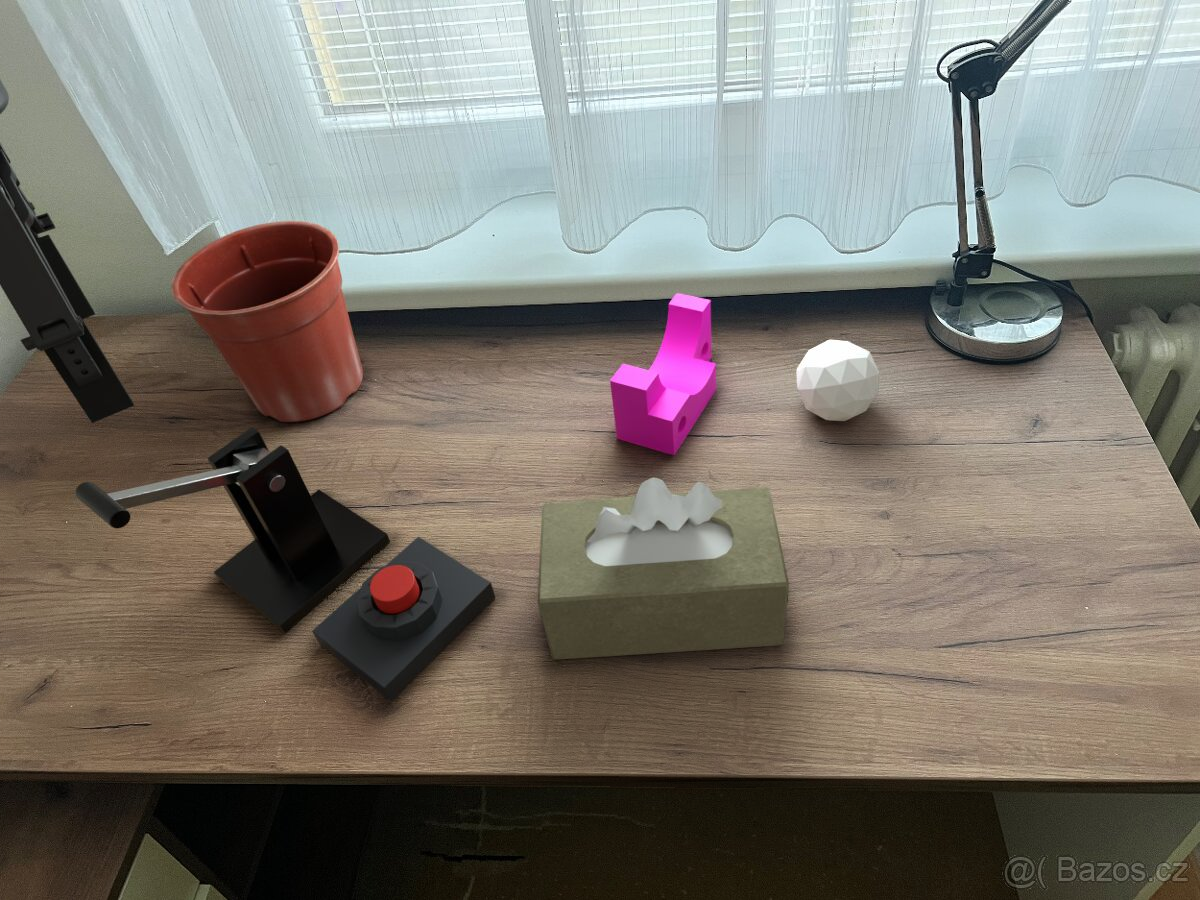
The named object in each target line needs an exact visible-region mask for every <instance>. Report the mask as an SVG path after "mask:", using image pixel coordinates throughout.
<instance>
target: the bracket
mask: <svg viewBox="0 0 1200 900" xmlns="http://www.w3.org/2000/svg"><path fill="white" fill-rule="evenodd" d="M261 448H265V449H267V450H268V451H270V450H269V448H268V446H267V444H266V442H265V440H264V438H263V436H262V434H261V432H260V431H259V430H258V429H256V428H255V427H253V426H251V427H249V428H247V429H246V430H245V431H244V432H242V433H241V434H240V435H238V436H236V437H235V438H234V439H232V440H231V441H230V442H228V443H227V444H225V445H224V446H222V447H221V448H220V449H218V450H217V451H215V452H214V453H212V454H211V455H210V456H208V457H207V460H208V461H207V462H209V464H210V466H211V467H212V469H213V470H216V469H221V468H225V467H230V466H233V454H237V453H242V452H247V451H252V450H256V449H261ZM270 452H271V453H269V454H268V455H267V456H265V457H264V458H262V459H261V460H260V461H258V462H257V463H256V464H254V465H253V466H252V467H250V468H249V469H247V470H246V471H245V472H243V473H242V474H241V475H239V476H238V477H236V479H237V481H238V483H239V485H240V486H239V485H237V484H236V483H232V484H228V485H224V486H223V488H224V490H225V491H226V493H227V495H228V496H229V498H230V500H231V501H232V503H233V505H234V507H235V508H236V510H237V512H238V514H239V515H240V517H241V518H242V520H243V522H244V524H245V525H246V527H247V529H248V530H249V532H250V534H251V536H252V537H253V540H252V541H251V542H250V543H249V544H247V545H246V546H244V547H243V548H242V549H241V550H240V551H238V552H237V553H235V555H233V556H232V557H231V558H229V559H228V560H227V561H226V562H224V563H223V564H222V565H221V566H220V567H218V568H217V569H216V570H214V571H213V573H214V576H215V577H216V578H217V579H218V581H219V582H220V583H222V584H223V585H224V586H225V587H227V588H228V589H229V590H230V591H232V593H234V594H235V595H237V596H238V597H239V598H240V599H241V600H243V601H244V602H246V604H248V605H249V606H250V607H251V608H253V609H254V610H255V611H256V612H258V613H259V614H260V615H261V616H263V617H264V618H265V619H266V620H267V621H268V622H270V623H271V624H273V625H274V626H275V627H276V628H277V629H279V630H280V631H281V632H282V633H284V634H286V633H287V632H289V631H290V630H291V629H292V628H294V626H296V625H297V624H298V623H300V621H302V619H304V618H305V617H306V616H307V615H308V614H310V612H312V611H313V610H314V609H315V608H316V607H318V605H320V604H321V603H323V601H324V600H325V599H327V598H328V597H329V596H330V595H331V594H332V593H334V591H336V590H337V589H338V588H339V587H341V585H342V584H344V583H345V582H346V581H347V580H349V579H350V578H351V577H352V576H353V575H354V574H356V572H358V571H359V570H360V569H361V568H362V567H363V566H364V565H365V564H367V563H368V562H369V561H370V560H371V559H373V558H374V557H375V556H376V555H377V554H379V553H380V552H381V551H382V550H383V549H385V547H386V546H387V545H389V544H390V543H391V540H390V537H389V535H388V533H387V532H385V531H384V530H382V529H381V528H379V527H377V526H376V525H374V524H373V523H371V522H370V521H368V520H367V519H365V518H364V517H362V516H361V515H359V514H358V513H356V512H354V511H353V510H351V508H348V507H346V506H345V505H344V504H342V503H341V502H339V501H337V500H336V499H335V498H334V497H333V498H332V497H331V496H330V495H328V494H327V493H326V492H324V491H322V490H320V489H317V490H316V491H315V492H313V493H312V494H310V491H309V489H308V487H307V485H306V483H305V481H304V479H303V477H302V475H301V473H300V471H299V469H298V467H297V465H296V463H295V460H294V459H293V457H292V455H291V453H290V451H289V449H288V448H287V447H285V446H283V445H279V446H277V447H276V448H275V449H273V450H272V451H270Z"/></svg>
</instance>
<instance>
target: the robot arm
mask: <svg viewBox="0 0 1200 900" xmlns="http://www.w3.org/2000/svg"><path fill="white" fill-rule="evenodd" d="M9 99H10V96H9V93H8V90H7V89H6V87H5V85H4V83H3V82H2V79H0V115H1V114H2V113H3V112H4V111H5V110H6V109H7V107H8V105H9V102H10V101H9ZM11 163H12V161H11V160H10V158H9V156H8V154H7V151H6V150H5V148H4V146H3V144H2V142H0V288H1V289H2V291H3V292H4V294H5V296H6V298H7V299H8V301H9V303H10V304H11V306H12V307H13V309H14V311H15V313H16V314H17V316H18V318H19V320H20V322H21V323H22V325H23V326H24V328H25V330H26V331H27V333H28V335H29V336H27V337H24V338H22V339H20V342H21V344H22V345H23V347H24V348H25V350H26V351H28V352H30V351H32V350H35V349H36V350H39V351H40V352H44V353H45V355H46V357H47V358H48V359H49V361H50V362H51V363H52V365H53V367H54V368H55V370H56V371H57V373H58V374H59V376H60V378H61V379H62V380H63V382H64V383H65V385H66V386H67V388H68V390H69V391H70V393H71V394H72V395H73V397H74V399H75V400H76V401H77V403H78V404H79V406H80V407H81V409H82V410H83V412H84V414H85V415H86V417H87V419H89V421H90V422H91V424H93V423H96V422H99V421H101V420H103V419H106V418H109V417H111V416H113V415H115V414H118V413H120V412H123V411H125V410H128V409H130V408H133V407H134V406H135V404H134V400H133V399H132V397H131V396H130V394H129V392H128V391H127V390H126V387H125V386H124V384H123V383H122V381H121V379H120V378H119V376H118V374H117V372H116V371H115V369H114V368H113V366H112V364H111V363H110V361H109V359H108V358H107V356H106V354H105V353H104V352H103V349H102V347H101V346H100V345H99V343H98V342H97V339H96V338H95V337H94V335H93V333H92V332H91V330H90V328H89V326H88V325H87V323H86V321H85V319H88V318H90V317H93V316H95V315H96V312H95V311H94V309H93V306H92V305H91V304H90V301H89V300H88V298H87V296H86V295H85V293H84V291H83V290H82V288H81V287H80V285H79V283H78V282H77V280H76V278H75V276H74V275H73V272H72V271H71V269H70V268H69V266H68V265H67V263H66V261H65V260H64V258H63V256H62V255H61V254H62V253H60V251H59V250H58V248H57V246H56V244H55V243H54V240H53V239H52V238H51V236H50V234H46V235H43V236H40V234H42V233H46V232H49V231H51V230H55V229H56V225H55V223H54V222H53V219H52V218H51V216H50V215H49V213H48V212H45V213H41V214H38V215H37V214H36V207H35V205H34V204H33V202H32V201H30V200H29V199H28V197H27V196H26V194H25V193H24V190H22V188H21V182H20V180H19V178H18V175H17V173H16V172H15V171H14V169H13V167H12V165H11Z"/></svg>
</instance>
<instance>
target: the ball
mask: <svg viewBox="0 0 1200 900" xmlns="http://www.w3.org/2000/svg"><path fill="white" fill-rule="evenodd" d="M795 371H796V388H797V392H798V394H799V397H800V398H801V401H802V403H803V406H804V409H805V410H807V411H809V412H811V413H813V414H814V415H816V416H818V417H819V418H822V419H824V420H825V421H836V422H846V421H848V420H850V419H852V418H855V417H856V416H858V415H860V414H863V413H865V412H866V411H867V410H868V409H869V408H870V405H871V404H872V402H873V401H874V400H875V398H876V396H877V395H878V393H879V392H880V371H879V368H878V366H877V364H876V362H875V360H874V358H873V356H872V353H871V352H870V351H869V350H868V349H865V348H863V347H860V346H858V345H856V344H854V343H853V342H850V341H848V340H838V339H828V340H826V341H824V342H822V343H820V344H818V345H816V346H814V347H812V348H811V349H808V351H807V352H806V353H805V355H804V357H803V359H802V360H801V362H800V364H798V366H797V368H796V370H795Z"/></svg>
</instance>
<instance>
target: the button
mask: <svg viewBox="0 0 1200 900" xmlns="http://www.w3.org/2000/svg"><path fill="white" fill-rule="evenodd" d="M370 592H371V595H372V597H373V599H374V601H375V603H376V605H377V607H378V608H379V609H380V610H381V611H383V612H385V613H388V614H397V613H401V612H404V611H406V610H408V609H409V608H411V607H412V606H413V605H414V604H415V602H416V601H417V599H418V597H419V586H418V584H417V581H416V579H415V576H414V574H413V572H412V571H411V570H410V569H409V568H407V567H405V566H401V565H394V566H389V567H386V568H384V569H382V570H381V571H379V572H378V573H377V574H376V575H375V576H374V578H373V579H372V581H371V584H370Z"/></svg>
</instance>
